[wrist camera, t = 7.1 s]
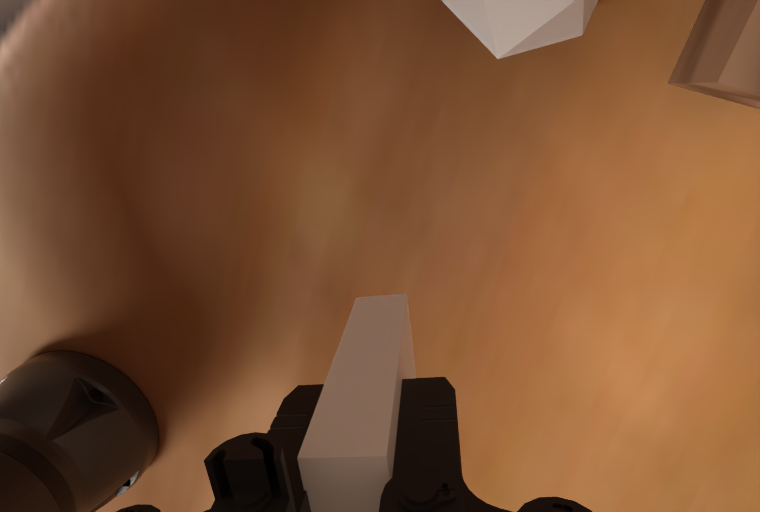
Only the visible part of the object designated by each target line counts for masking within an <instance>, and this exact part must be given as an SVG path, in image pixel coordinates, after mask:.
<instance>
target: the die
mask: <svg viewBox="0 0 760 512" xmlns="http://www.w3.org/2000/svg"><path fill="white" fill-rule="evenodd" d="M441 1H442V2H443V3H444V4H445V5H446V6H447V7H448V8H449V9H450V10H451V11H452V12H453V13H454V14H455V15H456V16H457V17H458V18H459V19H460V20H461V21H462V22H463V23H464V24H465V26H466V27H467V28H468V29H469V30H470V31H471V32H472V33H473V34H474V35H475V36H476V37H477V38H478V39H479V40H480V41H481V42H482V43H483V44H484V45H485V46H486V47H487V48H488V49H489V50H490V52H491V53H492V54H493V55H494V56H495V57H496V58H497V59H500V58H504V57H507V56H511V55H514V54H518V53H522V52H525V51H529V50H532V49H536V48H539V47H543V46H547V45H550V44H554V43H557V42H561V41H564V40H568V39H572V38H575V37H579V36H582V35H583V33H584V31H585V29H586V26H587V24H588V22H589V20H590V18H591V15H592V13H593V11H594V9H595V7H596V4H597V2H598V0H441Z"/></svg>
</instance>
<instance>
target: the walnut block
mask: <svg viewBox="0 0 760 512" xmlns="http://www.w3.org/2000/svg"><path fill="white" fill-rule="evenodd" d="M668 84H671V85H675V86H678V87H682V88H686V89H689V90H693V91H696V92H700V93H704V94H707V95H711V96H714V97H718V98H722V99H725V100H729V101H732V102H736V103H740V104H743V105H747V106H750V107H754V108H758V109H760V0H705V3H704V5H703V7H702V9H701V11H700V14H699V16H698V18H697V20H696V22H695V25H694V27H693V29H692V31H691V33H690V36H689V38H688V40H687V42H686V44H685V47H684V49H683V51H682V53H681V55H680V57H679V60H678V62H677V64H676V66H675V68H674V71H673V73H672V75H671V77H670V79H669V82H668Z"/></svg>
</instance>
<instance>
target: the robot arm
mask: <svg viewBox="0 0 760 512" xmlns="http://www.w3.org/2000/svg"><path fill="white" fill-rule="evenodd" d="M158 440H159V436H158V427H157V423H156V420H155V416H154V414H153V412H152V410H151V407H150V406H149V404H148V402H147V401H146V399H145V397H144V396H143V395H142V393H141V392H140V391H139V390H138V388H137V387H136V386H135V385H134V384H133V383H132V382H131V381H130V380H129V379H128V378H126V377H125V376H124V375H123V374H122V373H120V372H119V371H118V370H116V369H115V368H113V367H112V366H110V365H108V364H106V363H104V362H102V361H100V360H98V359H96V358H93V357H91V356H88V355H85V354H81V353H76V352H69V351H53V352H47V353H43V354H40V355H37V356H35V357H33V358H31V359H30V360H28V361H27V362H25V363H23V364H22V365H20V366H19V367H17V368H16V369H14V370H13V371H11V372H10V373H9V374H8V375H7V376H5V377H4V378H3V379H2V380H1V382H0V512H95V511H97V510H98V509H99V508H101V507H102V506H104V505H105V504H107V503H108V502H110V501H111V500H112V499H114V498H115V497H116V496H118V495H120V494H122V493H123V492H125V491H126V490H128V489H129V488H130V487H131V486H132V485H133V484H134V483H135V482H136V481H137V480H138V479H139V478H140V477H141V475H142V474H143V473H144V472H145V470H146V469H147V468H148V467H149V465H150V464H151V462H152V461H153V459H154V457H155V455H156V452H157V448H158ZM204 463H205V466H206V470H207V473H208V477H209V480H210V483H211V487H212V490H213V494H214V497H215V501H214V503H213V505H212V507H211V509H209V510H206V511H204V512H511V511H508V510H504V509H500V508H497V507H495V506H492V505H489V504H487V503H485V502H484V501H482V500H481V499H479V498H477V497H476V496H475V495H474V494H473V493H472V492H471V491H470V490H469V489H468V487H467V485H466V484H465V482H464V480H463V476H462V467H461V455H460V442H459V430H458V419H457V407H456V395H455V389H454V388H453V387H452V385H451V384H450V383H449V381H448V380H447V379H446V378H445V377H433V378H416V370H415V361H414V353H413V344H412V335H411V326H410V318H409V309H408V300H407V294H396V295H383V296H369V297H356V300H355V302H354V305H353V308H352V310H351V313H350V316H349V319H348V321H347V324H346V327H345V329H344V332H343V335H342V338H341V340H340V343H339V346H338V348H337V351H336V354H335V357H334V359H333V362H332V365H331V368H330V370H329V373H328V376H327V378H326V381H325V384H319V385H298V386H297V387H296V388H295V389H294V390H293V391H292V392H291V393H290V394H289V395H287V396H286V397H285V398H284V399H283V402H282V404H281V406H280V408H279V410H278V412H277V416H276V417H275V418H274V420H273V422H272V424H271V426H270V430H269V431H268V433H267V434H266V433H257V432H255V433H249V434H243V435H239V436H237V437H234V438H232V439H229V440H227V441H225V442H224V443H222V444H221V445H219V446H218V447H216V448H215V449H214V450H213V451H212V452H211V453H210V454H209V455H208V456H207V458H206V459H205V460H204ZM116 512H161V511H160V510H159V509H157V508H156V507H154V506H152V505H134V506H130V507H127V508H123V509H120V510H118V511H116ZM517 512H592V511H591V510H589V509H587V508H586V507H584V506H582V505H580V504H579V503H577V502H575V501H572V500H568V499H563V498H559V497H540V498H537V499H534V500H532V501H530V502H527V503H525V504H524V505H523V506H522V507H521V508H520V509H519V510H518V511H517Z"/></svg>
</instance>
